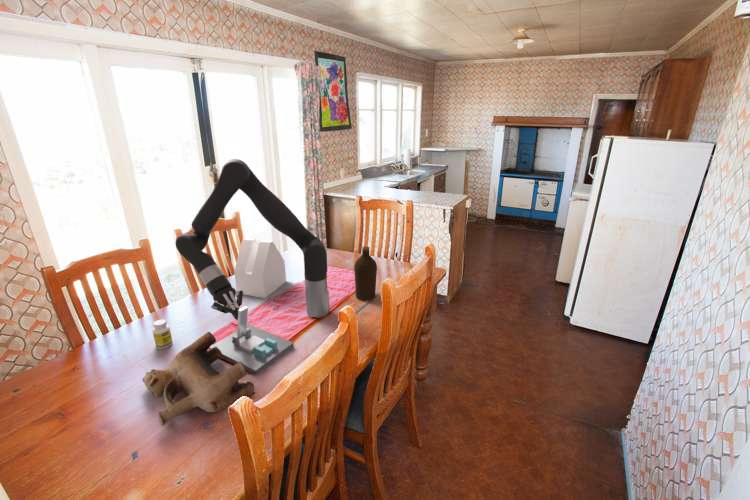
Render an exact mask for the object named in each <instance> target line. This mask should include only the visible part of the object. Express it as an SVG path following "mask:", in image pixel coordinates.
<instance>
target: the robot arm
mask: <svg viewBox="0 0 750 500" xmlns="http://www.w3.org/2000/svg"><path fill="white" fill-rule="evenodd" d="M239 190H240V191H241V192H242V193H243V194H245V195H246V196H247V197H248V198H249V199H250V201H251V202H252V203H253V205H254V207H255V208H256V209H257V211H258V212H259V213H260V214H261V216H262V217H263V218H264V219H265V220H266V222H268V223H269V224H270V225H271V227H273V228H274V229H276V230H277V231H278V232H280V233H281V234H283V235H284V236H286V237H288V238H290V239H291V240H292V241H293V242H294V243H295V245H297V246H298V248H299V249H300V250H301V252H302V254H303V264H304V265H303V266H304V285H305V286H304V288H305V302H306V305H305V306H306V315H307V314H308V315H309V316H308V315H307V316H308V317H310V316H311V317H310V318H312V317H316V318H315V319H317V318H318V319H320V318H324V317H325V316H327V315H328V313H329V311H330V292H329V290H328V276H327V275H328V274H327V273H328V253H327V248H326V247H325V245H324V242H323V241H322V240H320V239H319V237H317V236H316V235H314V234H313V233H312V232H311V231H310V230H308V229H307V228H306V227H305V225H304V224H303V223H302V222H301V221H300V219H298V217H297V216H296V215H295V214H294V212H292V210H291V209H290V208H289V207H288V206H287V205H286V204H285V202H283V201H282V200H281V199H280V198H279V197H278V196H276V194H274V193H273V191H271V190H270V189H269V188H267V186H265V185H264V184H263V183H262V181H260V179H259V178H258V177H257V176H256V174H254V172H253V171H252V169H251V168H250V167H249V165H248V164H247V163H246V162H244V161H243V160H241V159H238V158H237V159H236V158H233V159H229V160H227V161H226V163H224V165H223V166H222V168H221V172H220V174H219V177H218V180H217V183H216V184H215V186H214V188H213V190H212V192H211V193H210V195H209V196H208V198H207V200H205V202H204V204H203V205H202V206H201V208H200V209H199V210H198V212H197V214H196V215H195V216H194V218H193V220H192V222H191V228H192V229H193V232H192V233H185V234H180V235H179V236H177V237H176V239H175V247H176V250H177V251H178V253H179V254H180V255H181V256H182V257H183V258H184V259H185V260H186V261H187V262H188V263H189V264H190V265H192V266H193V268H194V269H195V271H196V272H197V274H198V275H199V277H200V280H201V282H202V283H203V285H204V286H205V288H206V289H207V290H208V292H209V294H210V295H211V296H212V300H213V303H212V305H210V307H211V309H213V310H216V311H217V312H218V311H219V312H221V313H223V314H229V313H230V314H231V315H232V317H233V318H234V319H235V320H236V321H238V310H239V309H240V308H241V306H242V305H243V299H244V298H243V297H244V296H243V295H244V294H243V291H242V290H241V291H237V290H236V289H235V288H234V287H233V286H232V283H230V281H229V279H228V278H227V277H226V275H225V273H224V271H223V270H222V269H221V268H220V266H219V265H218V264H217V262H216V261H215V260H214V258H213V256H212V255H211V254H210V253H208V252H205V251H203V250H204V249H205V248H206V247H207V244H208V242H209V238H210V236H211V232H212V230H213V229H214V227H215V225H216V224H217V223H218V221H219V219H220V218H221V216H222V215H223V212H224V210H225V208H226V207H227V205H228V204H229V202H230V200H231V199H232V198H233V196H234V195H236V193H237V192H238V191H239Z"/></svg>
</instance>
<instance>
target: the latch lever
mask: <svg viewBox="0 0 750 500" xmlns="http://www.w3.org/2000/svg"><path fill="white" fill-rule="evenodd" d="M248 310H249V308H248V306H247V305H245V306H243V307H240V308H239V310H238V320H237V328H236V331H237V336H239V339H240V338H242V337H244V336H245V335H246V330H247V324H248V312H249V311H248Z"/></svg>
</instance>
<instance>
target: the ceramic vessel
mask: <svg viewBox="0 0 750 500" xmlns="http://www.w3.org/2000/svg"><path fill="white" fill-rule="evenodd" d="M215 343H217V339H216V337H215V335H214V334H212V332H210V331H207V332H206V333H204V334H203V335H201V336H200V337H199V338H198V339H196V340H195V341H194V342H192V343H191V344H189V345H188V346H186V347H185V348H183V349H181V350H180V351H179V352H178V353H177V354H176V355H175V356H174V357H173V358H172V360H171V362H170V364H169V366H168V368H166V369H154V368H153V369H150V371H147V372H145V376H144V377H142V382H143V383H144V385H145V387H146V389H147V390H148V391H149V392H151V393H153V394H154V396H155V397H157V398H160V397H162V396H163V399H164V404H165V406H166V408H164V409H162V410H160V411H158V412H157V413H156V415H157V417H158V420H159V423H160V425H161V426H165V425H166V424H167V423H168V422H170V421H172V420H173V419H175V418H177V417H180V416H181V415H183V414H185V413H187V412H189V411H190V410H192V409H195V408H200V409H201V410H203V411H204V412H207V413H215V412H220V411H221V410H222V409H224V408H226V407H229V406H231V405H233V403H234V402H235V401H236V400H237V399H239V398H240V397H242V396H247V397H248V396H250V395H252V394H254V393H255V385H254V383H253V382H252V381H250V380H249V381H246V383H245V382H243V383H242V382H241V383H239V381H240V380H241V379H242V378H243V377H245V376H246V375H248V371H247V370H246V368H245V367H244V365H243V364H242V362H238V363H237V364H233V365H232V366H231V367H229V368H228V369H227V370H225V371H223V372H221V373H220V372H218V370H217V369H216V368H214V367H213V365H212V364H214V363H215V362H216V361H218V360H219V359H223V358H222V353H221V351H220V350H219V349H218V348H217V347H214V348H211V349H210V350H209V348H210V346H212V345H214V344H215ZM180 392H185V393H186V394H187V396H186V397H184V398H182V399H180V400H179V401H176V402H175V401H174V398H175V397H176V396H178V394H179V393H180ZM234 404H235V403H234Z"/></svg>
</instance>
